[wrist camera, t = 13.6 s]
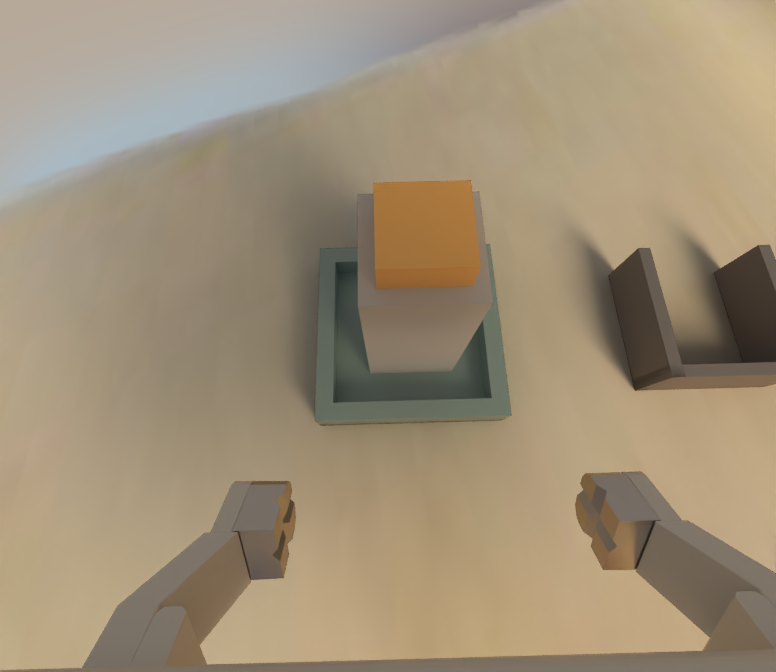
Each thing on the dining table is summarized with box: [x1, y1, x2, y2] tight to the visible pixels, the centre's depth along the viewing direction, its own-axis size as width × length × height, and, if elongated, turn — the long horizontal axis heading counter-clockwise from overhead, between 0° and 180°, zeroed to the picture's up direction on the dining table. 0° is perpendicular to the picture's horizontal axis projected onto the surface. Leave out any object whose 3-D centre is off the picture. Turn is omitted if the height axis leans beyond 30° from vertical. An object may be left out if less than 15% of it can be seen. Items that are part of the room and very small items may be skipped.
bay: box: [609, 245, 776, 390], centre depth 25 cm, size 8×8×4 cm
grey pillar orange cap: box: [358, 180, 493, 374], centre depth 20 cm, size 5×5×12 cm
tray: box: [315, 244, 512, 425], centre depth 25 cm, size 11×11×2 cm
